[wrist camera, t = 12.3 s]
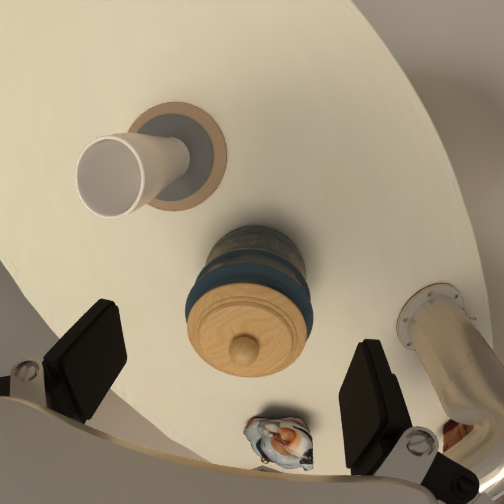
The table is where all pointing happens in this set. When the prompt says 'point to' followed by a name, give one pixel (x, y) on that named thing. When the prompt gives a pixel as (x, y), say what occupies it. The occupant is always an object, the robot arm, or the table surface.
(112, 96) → the table surface
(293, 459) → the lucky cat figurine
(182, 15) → the table surface
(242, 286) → the canister
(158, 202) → the round coaster
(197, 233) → the table surface
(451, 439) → the decorative planter
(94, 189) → the drinking glass
